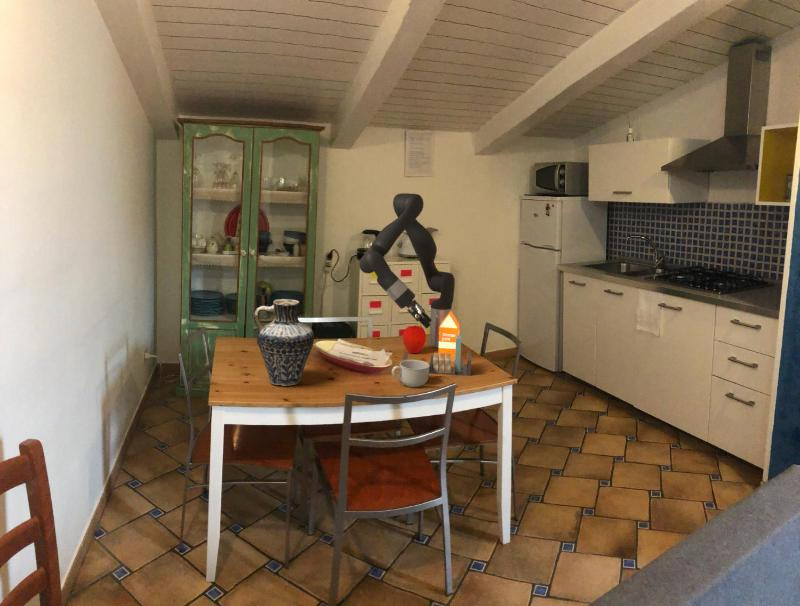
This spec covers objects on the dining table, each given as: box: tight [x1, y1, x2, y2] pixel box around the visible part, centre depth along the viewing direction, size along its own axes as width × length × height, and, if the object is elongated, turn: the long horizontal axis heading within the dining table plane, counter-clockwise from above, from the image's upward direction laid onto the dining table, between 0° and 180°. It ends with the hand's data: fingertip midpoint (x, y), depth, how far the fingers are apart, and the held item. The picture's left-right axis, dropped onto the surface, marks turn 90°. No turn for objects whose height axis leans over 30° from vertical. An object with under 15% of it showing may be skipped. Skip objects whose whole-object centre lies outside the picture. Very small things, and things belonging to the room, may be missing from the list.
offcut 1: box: [433, 352, 439, 372], centre depth 258 cm, size 2×10×5 cm, turn 175°
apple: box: [402, 324, 427, 354], centre depth 284 cm, size 10×10×12 cm
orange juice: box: [438, 311, 460, 362], centre depth 274 cm, size 8×9×20 cm
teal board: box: [454, 334, 462, 372], centre depth 257 cm, size 2×6×13 cm, turn 175°
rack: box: [401, 350, 472, 377], centre depth 258 cm, size 26×14×7 cm, turn 85°
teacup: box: [391, 359, 430, 388], centre depth 240 cm, size 14×11×8 cm
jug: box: [253, 298, 315, 387], centre depth 236 cm, size 21×19×30 cm
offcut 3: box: [445, 353, 452, 373], centre depth 258 cm, size 2×10×5 cm, turn 175°
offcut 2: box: [439, 353, 445, 373], centre depth 258 cm, size 2×10×5 cm, turn 175°
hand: (429, 324), depth 256 cm, fingers open, 8 cm apart
